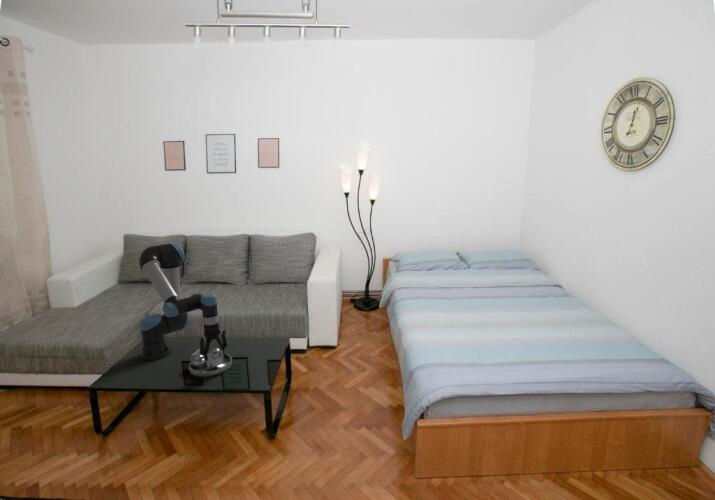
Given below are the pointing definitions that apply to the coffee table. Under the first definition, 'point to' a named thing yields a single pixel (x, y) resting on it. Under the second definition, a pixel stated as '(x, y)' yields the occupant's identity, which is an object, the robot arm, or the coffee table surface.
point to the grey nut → (215, 358)
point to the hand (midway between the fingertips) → (215, 362)
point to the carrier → (208, 371)
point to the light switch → (194, 355)
